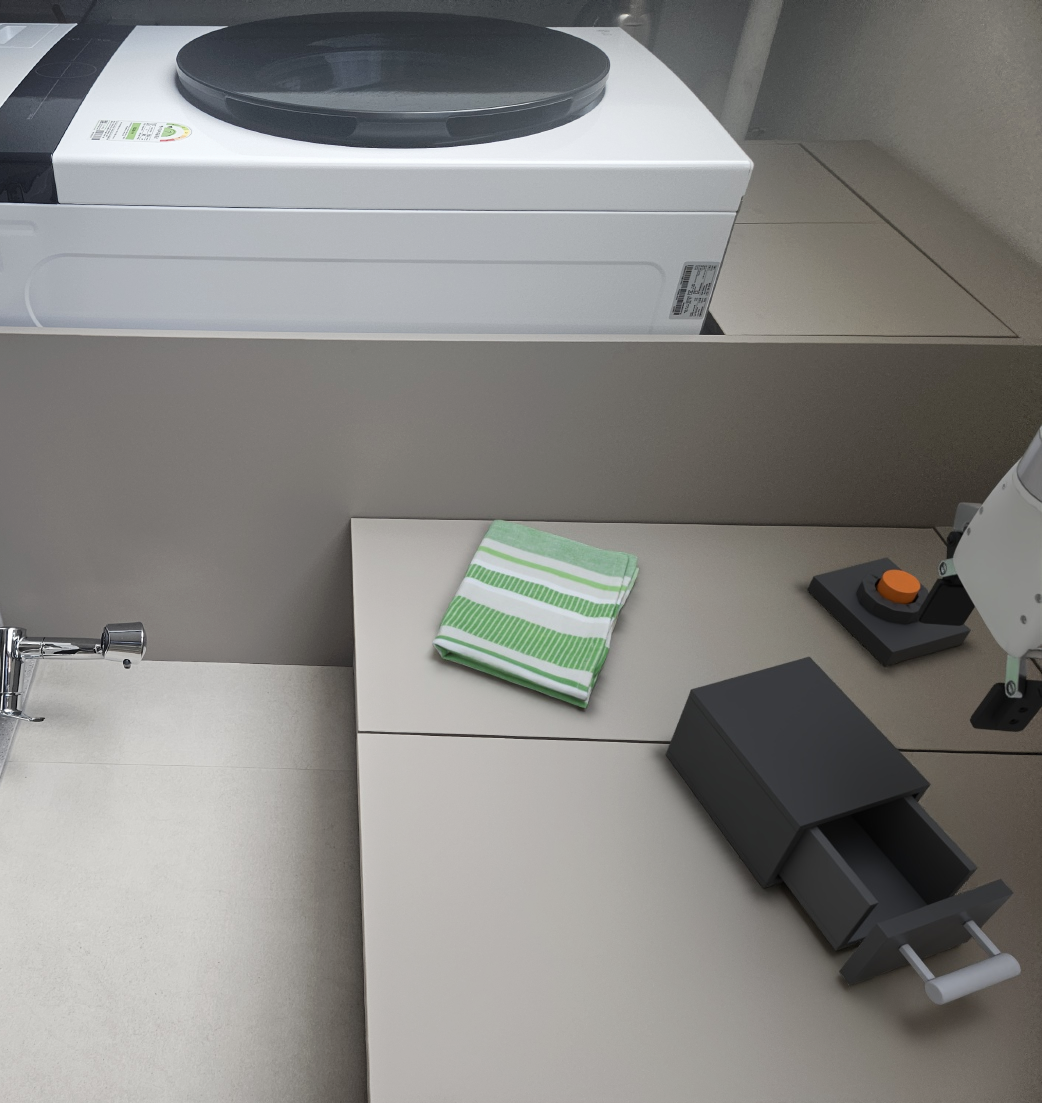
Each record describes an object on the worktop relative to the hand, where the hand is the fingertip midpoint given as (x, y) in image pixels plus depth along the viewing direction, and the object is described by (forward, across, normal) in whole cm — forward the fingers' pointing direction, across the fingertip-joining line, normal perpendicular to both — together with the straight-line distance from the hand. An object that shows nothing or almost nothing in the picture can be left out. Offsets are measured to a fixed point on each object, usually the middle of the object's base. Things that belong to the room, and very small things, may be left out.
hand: (964, 671), depth 67 cm
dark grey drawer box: (+24, +5, +4) cm, 25 cm away
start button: (+21, +31, -13) cm, 39 cm away
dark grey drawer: (+23, -5, 0) cm, 24 cm away
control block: (+24, +31, -13) cm, 41 cm away
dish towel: (+25, +28, +24) cm, 44 cm away
